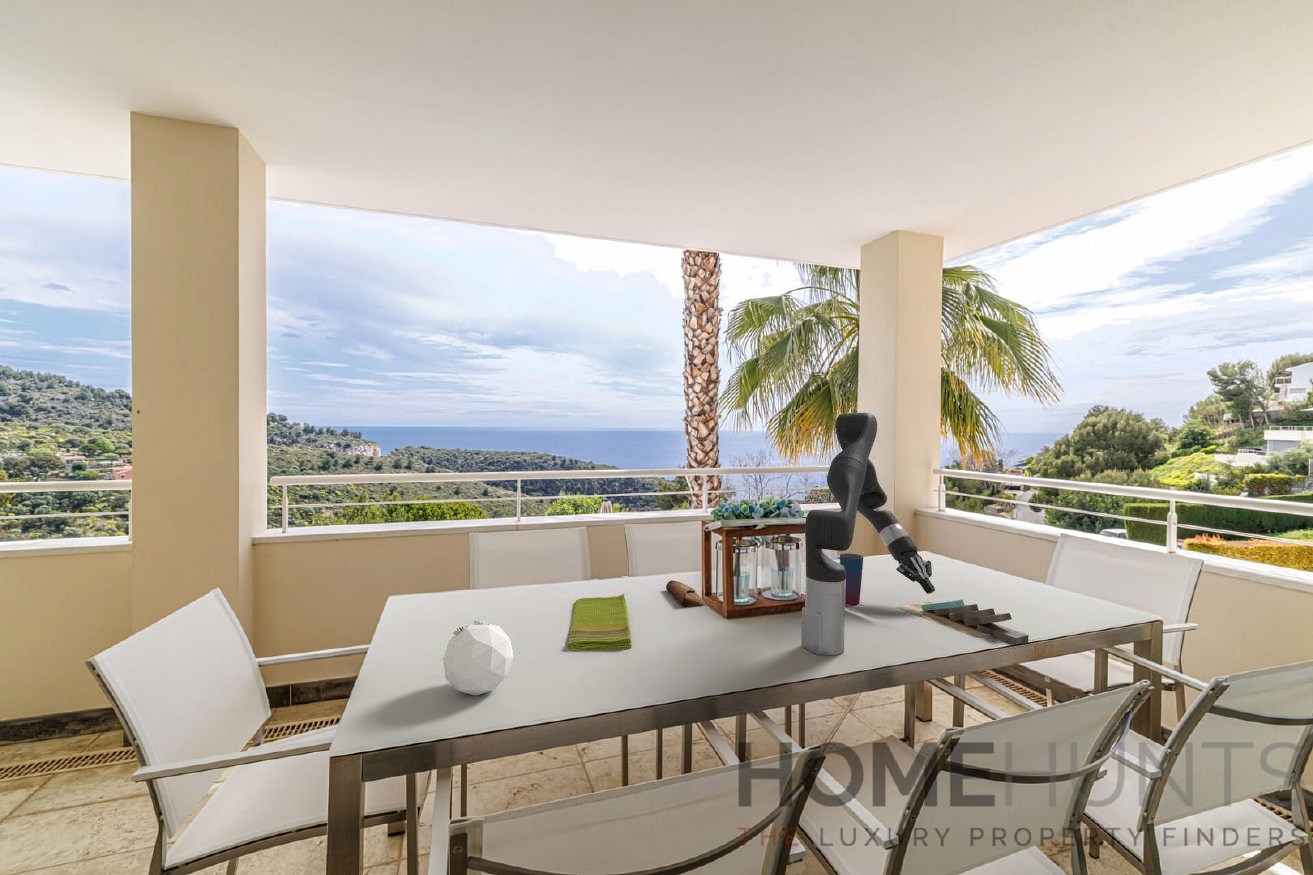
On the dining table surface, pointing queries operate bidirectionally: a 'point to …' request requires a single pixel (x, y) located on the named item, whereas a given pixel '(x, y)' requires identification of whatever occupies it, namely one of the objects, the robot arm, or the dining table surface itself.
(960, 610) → the domino
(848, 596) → the cup
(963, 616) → the domino
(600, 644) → the dish towel
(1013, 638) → the domino
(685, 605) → the sunglasses case
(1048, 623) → the dining table surface
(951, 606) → the domino
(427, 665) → the dining table surface
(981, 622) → the domino
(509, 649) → the geodesic sphere
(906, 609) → the board
